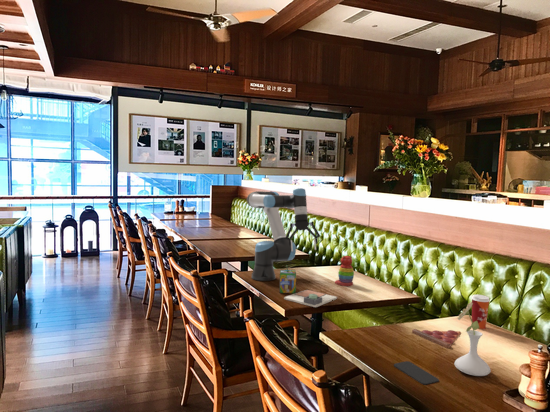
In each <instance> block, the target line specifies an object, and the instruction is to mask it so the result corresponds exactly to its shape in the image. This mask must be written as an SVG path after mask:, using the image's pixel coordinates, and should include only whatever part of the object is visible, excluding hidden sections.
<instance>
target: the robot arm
mask: <svg viewBox="0 0 550 412" xmlns="http://www.w3.org/2000/svg"><path fill="white" fill-rule="evenodd" d="M246 203H247V204H248V205H249V206H250V208H251V207H252V208H255V209H262V211H263V213H265V214H266V217H267V220H268V221H267V222H268V224H269V228H270V232H271V234H272V238H273V240H263V241H262V240H261V241H259V242H257V243H256V244H255V249H254V267H253V268H252V269H253V271H252V273H251V279H252V280H255V281H261V282H269V281H274V280H276V273H275V268H274V262H288V261H292V260H293V259H295V257H296V251H297V248H296V244H295V242H293V240H292V239H293V238H294V236H295V235H296V233H297V232H298V231H306V230H307V231H308V233H309V234H311V235H312V237H314V238H313V245H314V250H315V251H316V250H317V244H318V238H320V237H321V235H320V232H318V230H317V228H316V227H315V224H314V222H313V221H311V222H309V217H308V216H309V215H308V207H307V206H308V205H307V193H306V189H305V188H299V187H298V188H294V189H293V190H292V194H290V195H289V194H285V195H283V194H281V195H280V193H278V192H277V191H263V190H262V191H257V190H256V191H253V192H250V193H249V194H248V195H247V198H246ZM280 208H285V209H286V208H287V209H293V210H294V223H293V222H292V223H291V222H290V224H289V228H288V231H287V233H286V231H285V227H284V225H283V221H282V218H281V214H280V212H279V209H280ZM294 226H295V227H296V228H295V229H294V231H293V232H292V233H291V231H292V229H293V228H294ZM309 226H311V227H312V229H313V231H314V232H315V233H314V232H313V231H312V230H311V229H310V228H309ZM290 234H291V235H290Z"/></svg>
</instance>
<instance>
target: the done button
mask: <svg viewBox="0 0 550 412" xmlns="http://www.w3.org/2000/svg"><path fill="white" fill-rule="evenodd" d="M309 298H310V299H314V300H315V299H317V295H316V294H309Z"/></svg>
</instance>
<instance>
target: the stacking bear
mask: <svg viewBox="0 0 550 412" xmlns="http://www.w3.org/2000/svg"><path fill="white" fill-rule="evenodd" d="M340 263H341V265H340V267H339V269H338V271H337V272H338V273H337V274H338V279H337V280H335V281H334V283H335V284H336V285H338V286H342V287H352V286H354V277H355V276H354V275H355V272H354V268H353V266H352V263H353V259H352V255H343V256H342V257H341V258H340Z"/></svg>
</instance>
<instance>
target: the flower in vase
mask: <svg viewBox="0 0 550 412" xmlns="http://www.w3.org/2000/svg"><path fill="white" fill-rule="evenodd" d="M472 304H473V303H472V301H470V302H468V303H467V305H466V308H463V309H462V312H461V313H460V314H458V317H457V318H456V319H457V320H459V321H460V320H461V319H463V318H464V317H465V316H466V315H468V317H469V318H470V322H471V325H469V327H467V328H466V330H465V332H466V334H467V335H468V338H469V351H468V353H466V354H464V355H462V356H459V357H458V358H457V359H455V361H454V366H455V367H456V369H457V370H459V371H461V372H462V373H464V374H467V375H470V376H475V377H484V376H488V375H489V374H490V373H491V371H492V370H491V367H490V366H489V364H488V363H487V362H486V361H485V360H484V359H483V358H481V356H479V354H478V344H479V340H480V339H481V337H482V336H483V333H482V332H481V331H478V330H480V329H479V324H478V322H477V321H475V322H474V323H473V322H472V316H471V315H470V311H469V310H470V309H472Z"/></svg>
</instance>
